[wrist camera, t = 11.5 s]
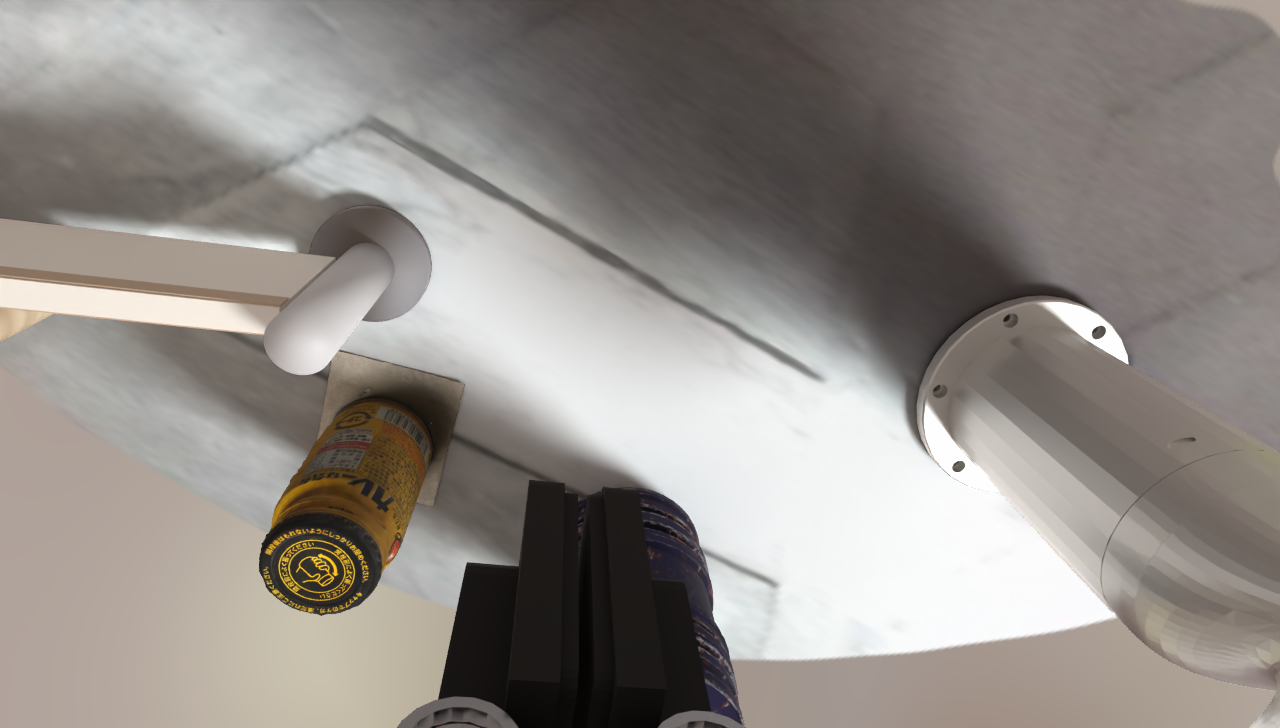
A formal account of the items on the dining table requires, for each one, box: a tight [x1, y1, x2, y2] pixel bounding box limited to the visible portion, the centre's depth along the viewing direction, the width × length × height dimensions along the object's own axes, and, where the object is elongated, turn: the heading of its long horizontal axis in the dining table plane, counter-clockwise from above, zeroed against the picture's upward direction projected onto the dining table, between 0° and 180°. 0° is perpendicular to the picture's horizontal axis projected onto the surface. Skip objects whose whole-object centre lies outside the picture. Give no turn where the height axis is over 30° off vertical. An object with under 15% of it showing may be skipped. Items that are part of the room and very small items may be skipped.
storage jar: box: [578, 488, 745, 727], centre depth 43 cm, size 10×10×15 cm
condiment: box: [259, 351, 465, 616], centre depth 39 cm, size 7×8×12 cm
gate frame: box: [0, 205, 432, 341], centre depth 31 cm, size 18×28×12 cm, turn 171°
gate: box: [0, 218, 395, 375], centre depth 34 cm, size 23×3×11 cm, turn 82°
